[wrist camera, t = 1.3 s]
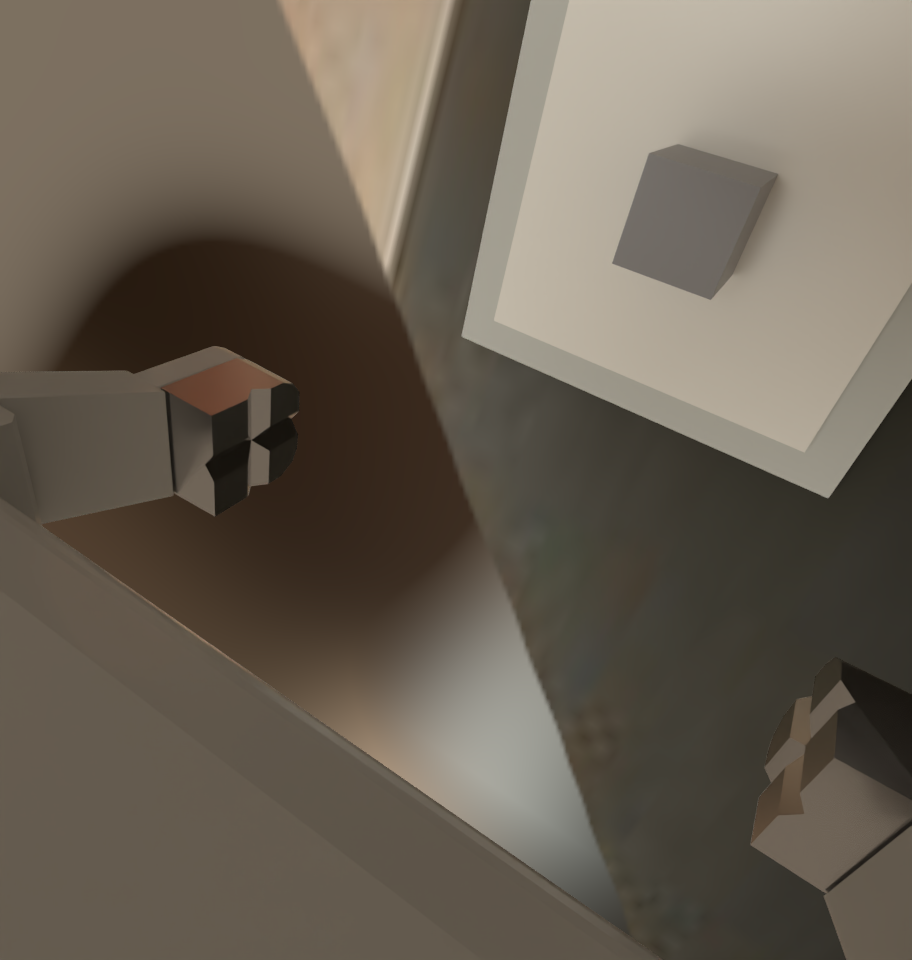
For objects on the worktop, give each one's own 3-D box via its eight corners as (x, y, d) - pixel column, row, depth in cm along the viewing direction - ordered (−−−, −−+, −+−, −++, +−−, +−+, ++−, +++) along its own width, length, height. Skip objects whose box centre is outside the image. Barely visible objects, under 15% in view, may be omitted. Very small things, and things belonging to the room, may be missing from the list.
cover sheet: (595, -75, 25) (543, -99, 21) (1074, 20, 20) (1109, 9, 16) (500, 316, 35) (454, 343, 31) (806, 445, 30) (792, 495, 26)
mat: (573, -147, 25) (562, -154, 24) (1199, -46, 19) (1211, -51, 18) (470, 331, 37) (461, 336, 36) (830, 488, 31) (828, 498, 30)
